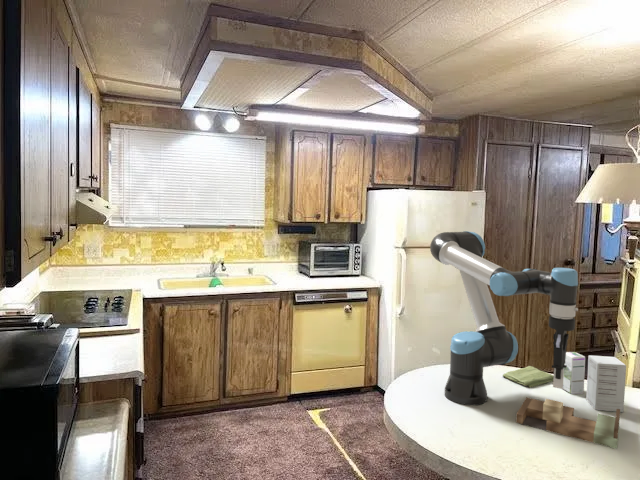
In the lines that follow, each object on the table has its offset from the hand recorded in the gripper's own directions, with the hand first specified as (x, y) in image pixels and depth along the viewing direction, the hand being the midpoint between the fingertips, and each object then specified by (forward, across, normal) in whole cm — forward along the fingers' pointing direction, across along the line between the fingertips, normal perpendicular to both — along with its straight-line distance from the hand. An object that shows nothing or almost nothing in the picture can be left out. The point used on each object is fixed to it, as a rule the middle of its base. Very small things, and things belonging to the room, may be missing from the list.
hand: (557, 387), depth 153 cm
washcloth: (+13, +35, +15) cm, 41 cm away
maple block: (+9, -4, 0) cm, 10 cm away
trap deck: (+12, 0, -3) cm, 13 cm away
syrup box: (+12, +32, -1) cm, 35 cm away
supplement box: (+12, +25, -12) cm, 30 cm away
